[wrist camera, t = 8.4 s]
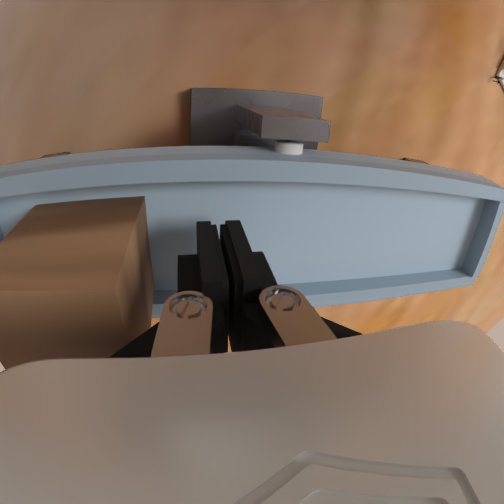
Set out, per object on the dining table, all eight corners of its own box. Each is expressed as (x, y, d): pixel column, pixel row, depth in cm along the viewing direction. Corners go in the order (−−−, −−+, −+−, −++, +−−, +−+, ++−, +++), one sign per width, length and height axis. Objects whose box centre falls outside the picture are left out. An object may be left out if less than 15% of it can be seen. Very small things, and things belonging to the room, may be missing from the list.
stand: (40, 104, 14) (-30, 123, 8) (429, 120, 20) (503, 146, 13) (64, 265, 20) (30, 338, 14) (398, 251, 26) (450, 303, 19)
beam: (-7, 158, 10) (-38, 177, 8) (481, 169, 16) (511, 185, 13) (27, 291, 14) (10, 324, 12) (449, 269, 20) (471, 291, 17)
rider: (35, 204, 11) (-38, 289, 6) (145, 196, 12) (114, 289, 6) (58, 289, 13) (18, 388, 8) (154, 287, 14) (146, 398, 9)
